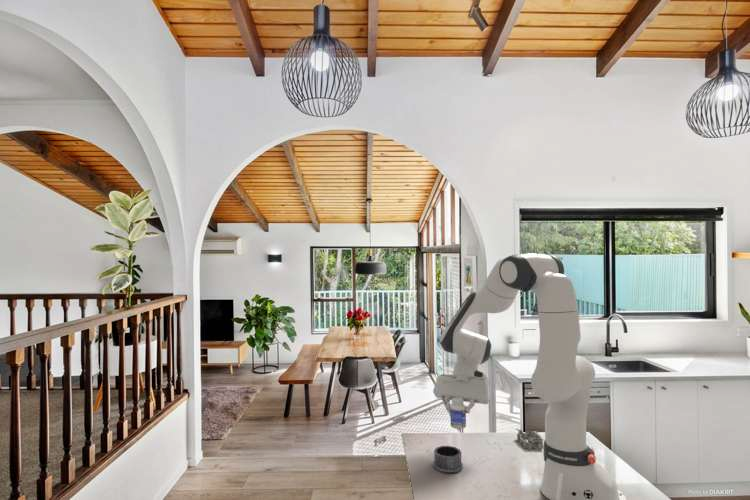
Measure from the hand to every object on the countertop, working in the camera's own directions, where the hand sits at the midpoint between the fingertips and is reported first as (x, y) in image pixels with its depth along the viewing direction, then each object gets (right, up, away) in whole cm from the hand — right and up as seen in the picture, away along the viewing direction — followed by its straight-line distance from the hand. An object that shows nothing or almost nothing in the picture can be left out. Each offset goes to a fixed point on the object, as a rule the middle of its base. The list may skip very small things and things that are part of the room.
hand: (457, 411), depth 154 cm
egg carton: (+28, -15, +8) cm, 33 cm away
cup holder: (-5, -15, -9) cm, 18 cm away
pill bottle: (0, -6, 0) cm, 6 cm away
